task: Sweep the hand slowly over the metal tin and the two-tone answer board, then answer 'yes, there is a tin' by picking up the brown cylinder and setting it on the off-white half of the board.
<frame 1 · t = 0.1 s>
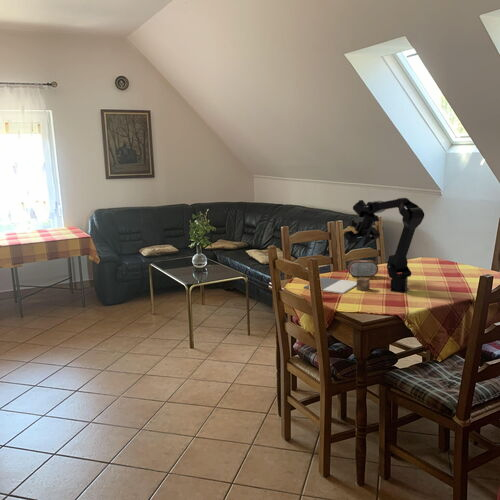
hand: (356, 247, 251), 15 cm above the table, tool tilted 30°, fingers open, 9 cm apart
brown cylinder: (363, 289, 230), on the table
answer board: (332, 285, 238), on the table
tin: (362, 276, 253), on the table
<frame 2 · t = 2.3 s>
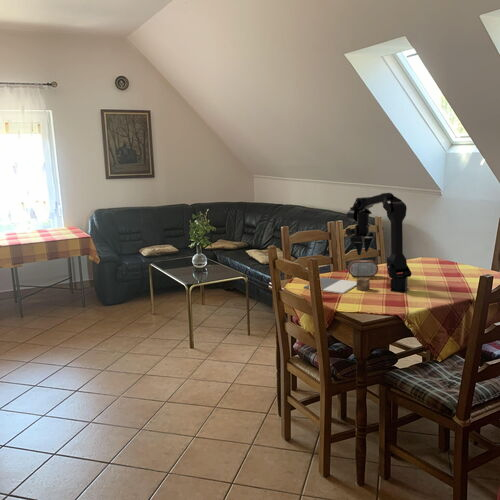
hand: (362, 253, 250), 12 cm above the table, tool pointing down, fingers open, 9 cm apart
nothing on the table moved.
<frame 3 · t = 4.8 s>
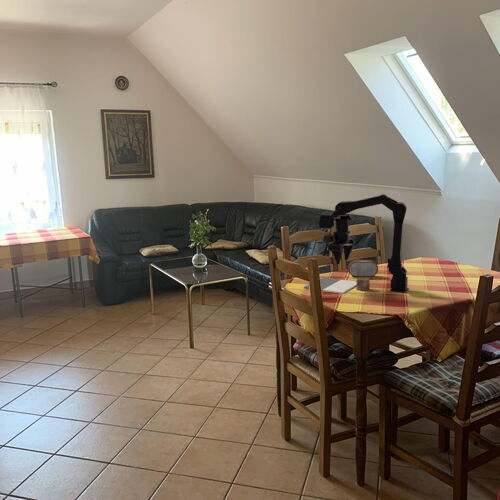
hand: (342, 262, 233), 12 cm above the table, tool pointing down, fingers open, 9 cm apart
nothing on the table moved.
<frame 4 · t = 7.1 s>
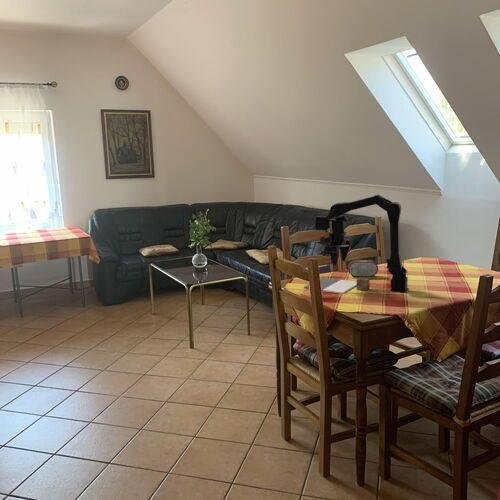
hand: (339, 263, 234), 11 cm above the table, tool pointing down, fingers open, 9 cm apart
nothing on the table moved.
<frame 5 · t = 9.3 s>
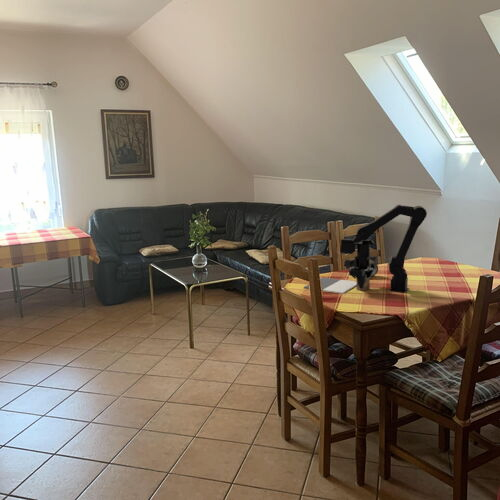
hand: (363, 287, 230), 1 cm above the table, tool pointing down, fingers closed on brown cylinder, 4 cm apart
brown cylinder: (363, 289, 230), on the table, touching gripper
everything else where it was.
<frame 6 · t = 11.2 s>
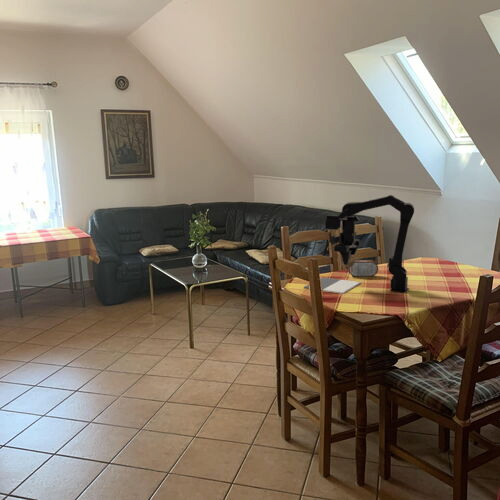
hand: (347, 263, 231), 12 cm above the table, tool pointing down, fingers closed on brown cylinder, 4 cm apart
brown cylinder: (347, 265, 232), point 11 cm above the table, touching gripper
everything else where it was.
when the fingers open (3 cm above the table, at t = 13.2 s): brown cylinder drops 1 cm, resting on answer board.
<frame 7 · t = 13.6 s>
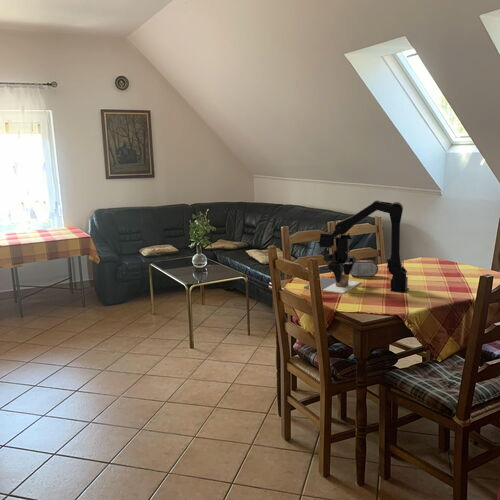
hand: (342, 280, 235), 3 cm above the table, tool pointing down, fingers open, 8 cm apart
brown cylinder: (342, 285, 235), point 1 cm above the table, touching answer board
everything else where it was.
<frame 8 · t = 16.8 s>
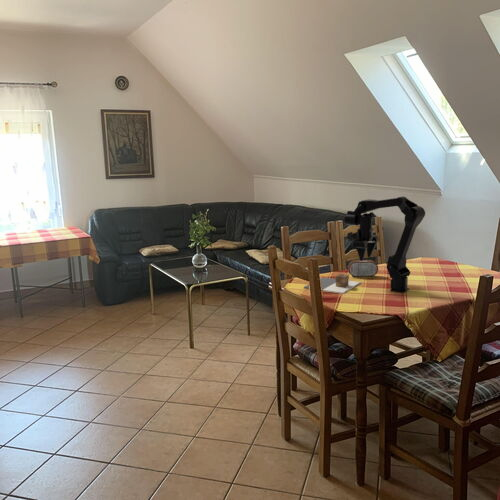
hand: (365, 258, 238), 12 cm above the table, tool pointing down, fingers open, 9 cm apart
nothing on the table moved.
at the end: brown cylinder inside the target area (0.0 cm from its centre), point 0.6 cm above the table; brown cylinder tilted 0°; the gripper is holding nothing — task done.
